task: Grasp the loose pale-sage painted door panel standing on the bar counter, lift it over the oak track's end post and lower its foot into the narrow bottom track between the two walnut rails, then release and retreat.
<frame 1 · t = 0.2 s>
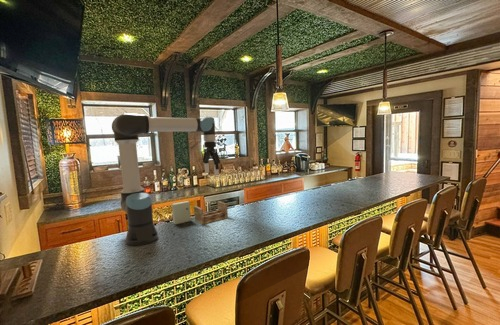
hand: (211, 173, 165), 27 cm above the counter, fingers open, 13 cm apart
door panel: (182, 222, 154), on the counter
track: (211, 219, 157), on the counter
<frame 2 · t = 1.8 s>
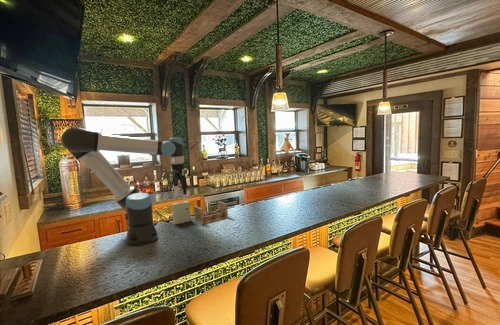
hand: (180, 197, 152), 15 cm above the counter, fingers open, 13 cm apart
nothing on the counter moved.
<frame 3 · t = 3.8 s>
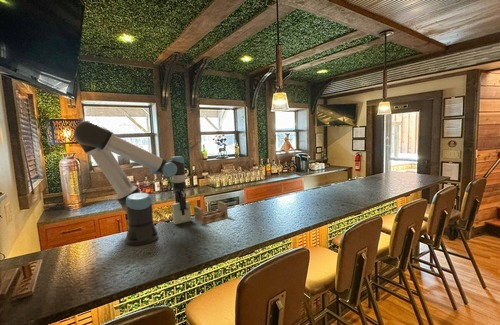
hand: (181, 219, 154), 2 cm above the counter, fingers closed on door panel, 3 cm apart
door panel: (182, 221, 154), on the counter, touching gripper
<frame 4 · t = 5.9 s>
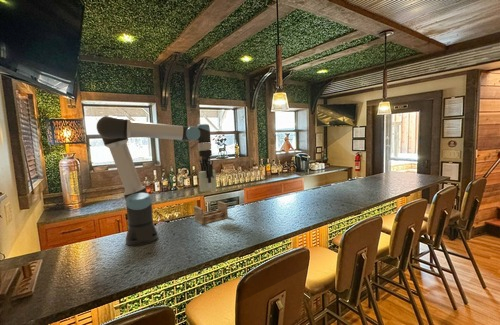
hand: (208, 187, 155), 20 cm above the counter, fingers closed on door panel, 3 cm apart
door panel: (208, 190, 155), point 18 cm above the counter, touching gripper
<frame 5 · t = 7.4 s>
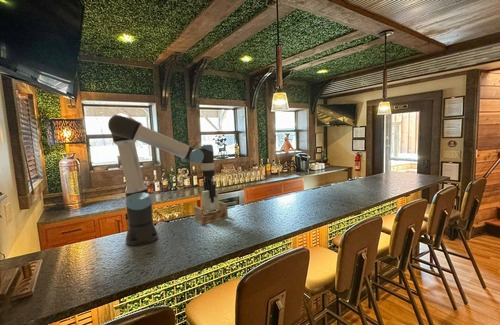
hand: (210, 206, 156), 8 cm above the counter, fingers closed on door panel, 3 cm apart
door panel: (211, 209, 156), point 6 cm above the counter, touching gripper
when the fingers open (5 cm above the counter, at t = 8.5 s): door panel drops 2 cm, resting on track.
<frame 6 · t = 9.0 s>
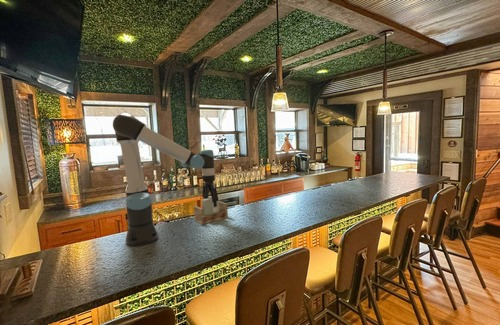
hand: (210, 210, 156), 6 cm above the counter, fingers open, 10 cm apart
door panel: (211, 217, 156), point 1 cm above the counter, touching track
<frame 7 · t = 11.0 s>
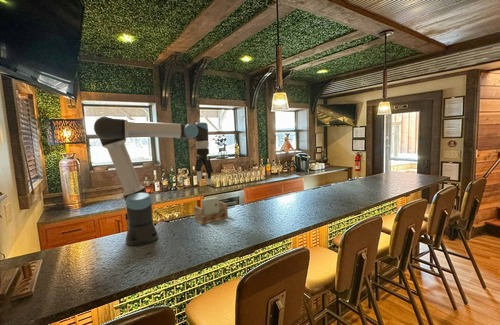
hand: (204, 182, 154), 23 cm above the counter, fingers open, 13 cm apart
nothing on the counter moved.
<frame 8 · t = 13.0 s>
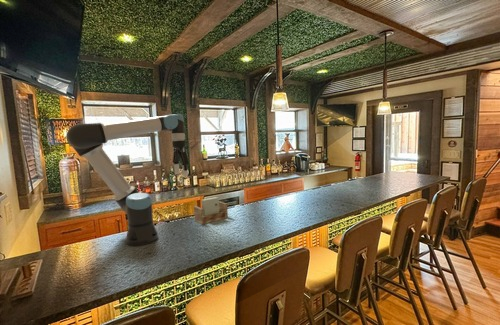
hand: (181, 175, 153), 29 cm above the counter, fingers open, 13 cm apart
nothing on the counter moved.
at the end: door panel 0.0 cm off-centre on the track, point 1.0 cm above the track's base; door panel tilted 0°; the gripper is holding nothing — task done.
